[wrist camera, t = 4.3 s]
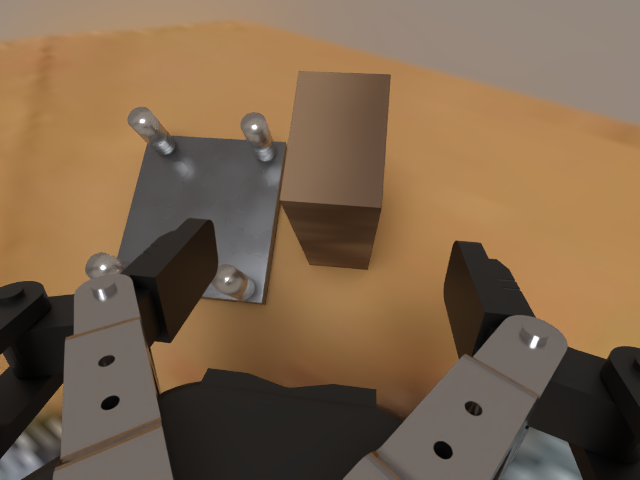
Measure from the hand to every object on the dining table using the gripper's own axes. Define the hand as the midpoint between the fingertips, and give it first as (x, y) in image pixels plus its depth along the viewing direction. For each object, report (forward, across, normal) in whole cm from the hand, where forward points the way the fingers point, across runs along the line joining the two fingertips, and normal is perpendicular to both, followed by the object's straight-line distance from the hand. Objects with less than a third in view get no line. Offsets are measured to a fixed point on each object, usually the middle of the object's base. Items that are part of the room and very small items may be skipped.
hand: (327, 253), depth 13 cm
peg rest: (+9, +9, +4) cm, 13 cm away
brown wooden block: (+10, 0, +4) cm, 10 cm away
